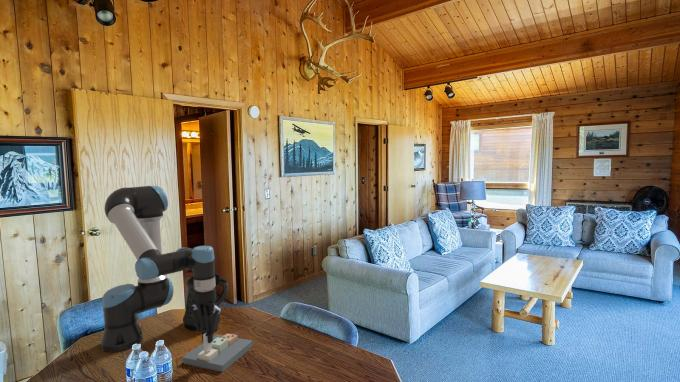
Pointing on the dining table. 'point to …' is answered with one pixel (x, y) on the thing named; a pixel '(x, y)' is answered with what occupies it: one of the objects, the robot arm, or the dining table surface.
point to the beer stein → (188, 315)
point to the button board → (219, 355)
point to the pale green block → (220, 344)
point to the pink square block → (230, 338)
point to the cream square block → (208, 355)
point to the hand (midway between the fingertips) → (208, 350)
